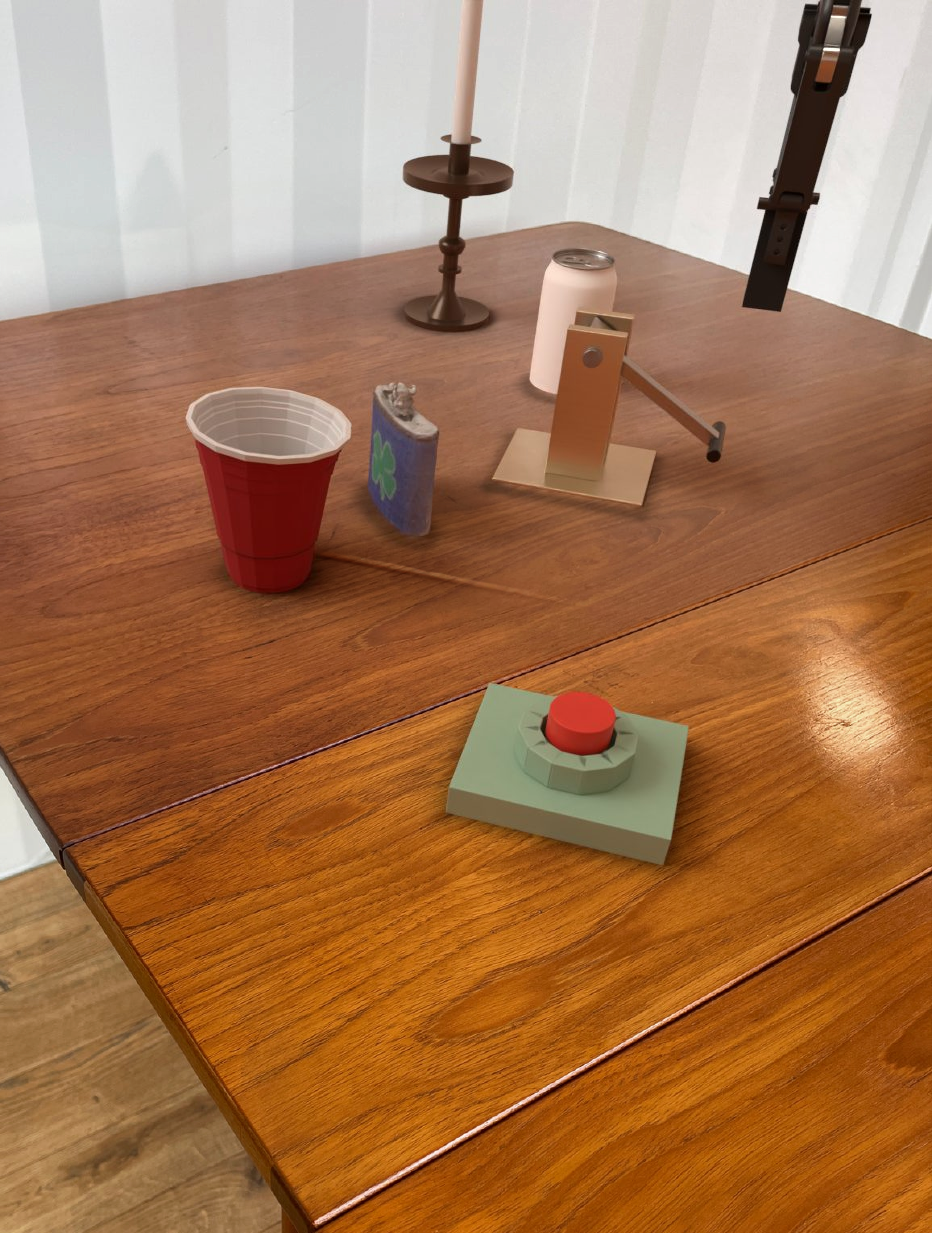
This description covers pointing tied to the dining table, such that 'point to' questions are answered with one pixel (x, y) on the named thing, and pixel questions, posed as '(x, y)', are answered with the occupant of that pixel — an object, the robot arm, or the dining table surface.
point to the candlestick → (456, 189)
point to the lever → (672, 405)
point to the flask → (402, 459)
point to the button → (580, 723)
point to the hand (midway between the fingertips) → (761, 305)
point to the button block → (570, 778)
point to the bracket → (584, 422)
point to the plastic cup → (267, 478)
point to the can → (568, 306)
